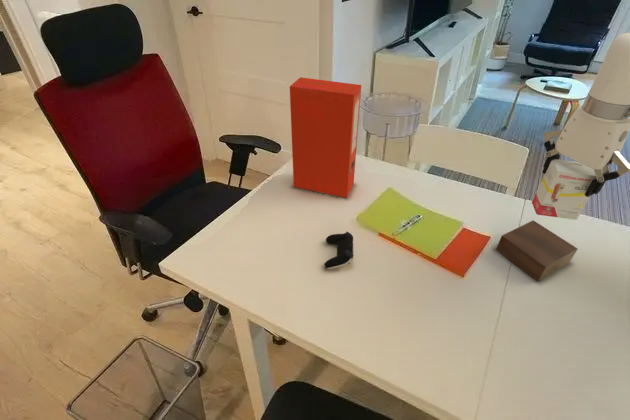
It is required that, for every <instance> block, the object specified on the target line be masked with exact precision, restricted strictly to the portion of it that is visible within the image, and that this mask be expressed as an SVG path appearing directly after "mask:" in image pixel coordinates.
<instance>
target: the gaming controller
mask: <svg viewBox="0 0 630 420" xmlns="http://www.w3.org/2000/svg"><path fill="white" fill-rule="evenodd" d="M354 241H355V240H354V236H353V234H352V233H351V232H349V231H345V232H344V233H333V234H330V235H328V236H327V237H326V238H325V242H326V244H328V245H331V246H336V255H335V256H334V257H331V258H329V259H328V260H327V261H325V262H324V263H323V266H324V267H325V269H326V270H329V269H330V270H332V269H337V268H342V267H344V266H347V265H349V264H350V263H351V262H352V261H353V260H354V256H355V255H354V251H355V250H354V248H355V247H354V246H355V245H354Z"/></svg>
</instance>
